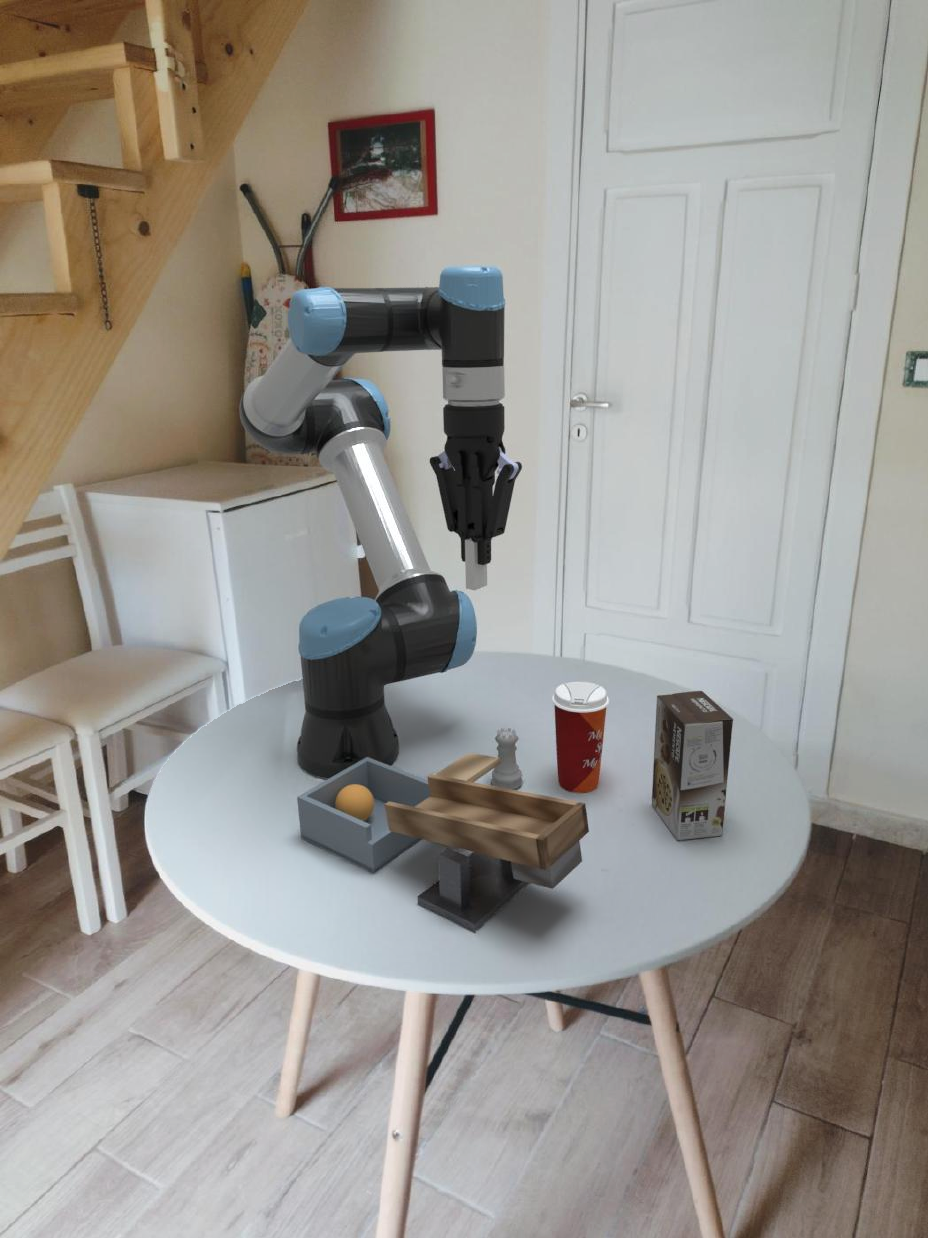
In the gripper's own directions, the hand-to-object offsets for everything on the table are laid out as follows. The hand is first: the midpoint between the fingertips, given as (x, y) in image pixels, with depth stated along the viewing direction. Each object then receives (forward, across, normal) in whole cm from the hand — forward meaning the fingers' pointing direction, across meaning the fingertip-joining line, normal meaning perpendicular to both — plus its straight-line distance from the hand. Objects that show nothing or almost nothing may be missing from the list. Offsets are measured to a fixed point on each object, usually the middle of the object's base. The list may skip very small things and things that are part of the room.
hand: (476, 586), depth 114 cm
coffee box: (+29, +28, +7) cm, 41 cm away
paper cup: (+29, +12, +7) cm, 32 cm away
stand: (+28, +15, -19) cm, 37 cm away
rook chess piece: (+29, +4, +1) cm, 29 cm away
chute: (+24, +15, -16) cm, 33 cm away
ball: (+25, -6, -19) cm, 32 cm away
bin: (+28, -3, -19) cm, 34 cm away
